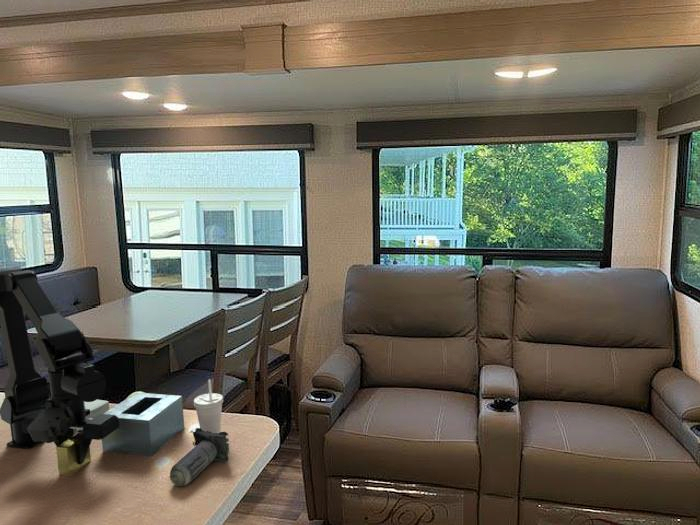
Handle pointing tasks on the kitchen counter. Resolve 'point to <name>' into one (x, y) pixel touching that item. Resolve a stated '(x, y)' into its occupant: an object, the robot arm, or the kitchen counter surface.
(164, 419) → the box
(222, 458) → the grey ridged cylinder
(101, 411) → the small box
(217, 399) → the smoothie
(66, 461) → the block
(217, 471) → the kitchen counter surface
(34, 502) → the kitchen counter surface
